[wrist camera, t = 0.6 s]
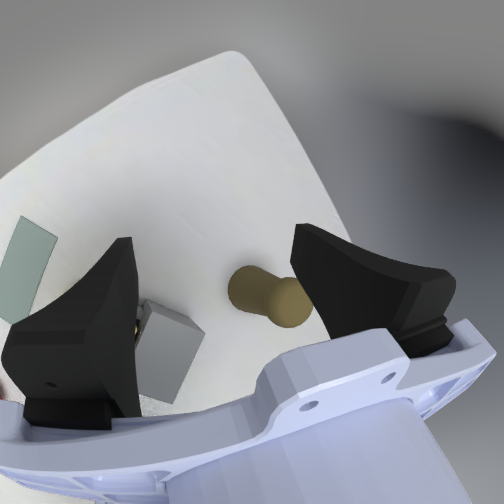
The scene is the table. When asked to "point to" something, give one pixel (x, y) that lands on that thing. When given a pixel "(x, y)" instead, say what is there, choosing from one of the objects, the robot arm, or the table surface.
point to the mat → (23, 269)
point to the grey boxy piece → (163, 350)
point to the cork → (270, 296)
